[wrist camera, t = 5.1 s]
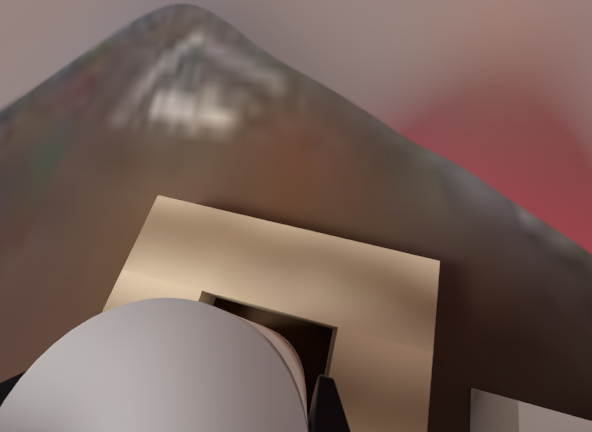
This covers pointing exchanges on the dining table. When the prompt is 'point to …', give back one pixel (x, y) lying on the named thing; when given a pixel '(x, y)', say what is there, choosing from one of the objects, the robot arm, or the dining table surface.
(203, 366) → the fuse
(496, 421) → the tray
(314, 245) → the socket block
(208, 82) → the dining table surface
